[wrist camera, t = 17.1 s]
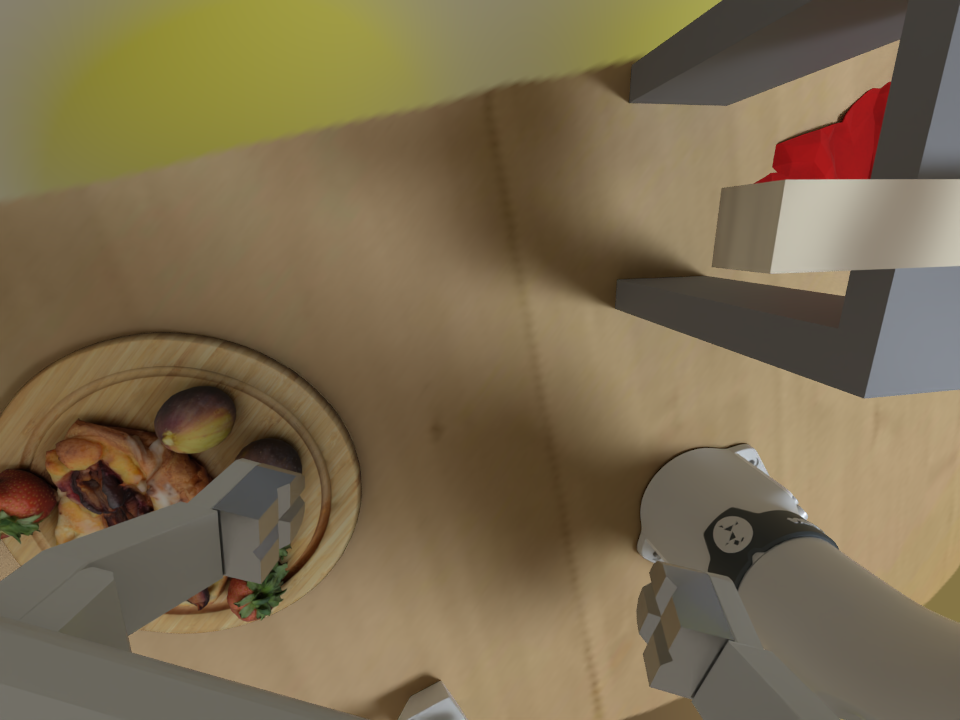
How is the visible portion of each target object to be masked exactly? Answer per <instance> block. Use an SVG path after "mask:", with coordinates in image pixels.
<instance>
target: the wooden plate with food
mask: <svg viewBox="0 0 960 720" xmlns="http://www.w3.org/2000/svg"><path fill="white" fill-rule="evenodd" d="M241 458H244V459H247V460H251V461H254V462H258V463H261V464H262V463H264V464H267V465H271V466H275V467H279V468H282V469H286V470H290V471H293V472H297V473H301V474H302V475H304V476H305V489H304V490H303V491H302V493H301V494H300V496H301V498H302V499H303V501H304V502H305V512H304V517H303V521H302V524H301V526H300V528H299V530H298V533H297V535H296V536H295V538H294V539H293V540H292V542H291V543H290V544H289V545H287V546H285V547H283V548H281V549H279V560H278V562H277V563H276V564H275V566H274V567H273V569H272V570H271V571H270V573H269V574H268V575H267V577H266V578H265V580H264V581H263V582H262V584H258V583H254V582H249V581H245V580H241V579H236V578H232V577H228V576H223V578H222V579H220V580H219V581H217V582H215V583H214V584H212V585H211V586H209V587H207V588H206V589H204V590H202V591H201V592H199V593H197V594H196V595H194V596H193V597H191V598H189V599H188V600H186V601H184V602H183V603H181V604H179V605H178V606H176V607H174V608H173V609H171V610H170V611H168V612H166V613H165V614H163V615H161V616H160V617H158V618H156V619H155V620H153V621H152V622H150V623H148V624H147V625H145V626H143V627H142V628H140V629H139V630H145V631H153V632H164V633H204V632H212V631H219V630H225V629H230V628H233V627H237V626H241V625H245V624H248V623H251V622H254V621H257V620H260V619H261V620H262V619H263V618H266V617H268V616H270V615H272V614H274V613H276V612H278V611H280V610H282V609H284V608H286V607H288V606H289V605H291V604H293V603H294V602H296V601H297V600H299V599H300V598H301V597H303V596H304V595H305V594H307V593H308V592H309V591H310V590H312V589H313V588H314V587H315V586H317V585H318V584H319V583H320V582H321V581H322V580H323V579H324V578H325V577H326V576H327V574H328V573H329V572H330V571H331V570H332V568H333V567H334V566H335V564H336V563H337V561H338V560H339V559H340V557H341V556H342V554H343V552H344V551H345V549H346V547H347V545H348V543H349V541H350V539H351V537H352V534H353V532H354V529H355V526H356V523H357V520H358V515H359V510H360V505H361V497H362V486H361V471H360V465H359V461H358V458H357V454H356V451H355V448H354V445H353V442H352V440H351V438H350V435H349V433H348V431H347V429H346V427H345V426H344V424H343V422H342V420H341V419H340V417H339V416H338V415H337V413H336V412H335V410H334V409H333V408H332V407H331V405H330V404H329V403H328V402H327V401H326V399H325V398H324V397H323V396H322V395H321V394H320V393H319V392H318V391H317V390H316V389H315V388H313V387H312V386H311V385H310V384H309V383H308V382H307V381H306V380H304V379H303V378H302V377H300V376H299V375H298V374H296V373H295V372H294V371H292V370H291V369H289V368H287V367H286V366H284V365H282V364H280V363H279V362H277V361H275V360H274V359H272V358H270V357H268V356H266V355H264V354H262V353H259V352H257V351H255V350H252V349H250V348H247V347H244V346H241V345H238V344H235V343H232V342H228V341H224V340H221V339H217V338H212V337H206V336H200V335H193V334H182V333H168V332H156V333H144V334H135V335H129V336H124V337H118V338H114V339H111V340H107V341H103V342H100V343H96V344H93V345H90V346H87V347H85V348H82V349H79V350H77V351H75V352H73V353H71V354H69V355H67V356H64V357H63V358H61V359H59V360H57V361H55V362H54V363H52V364H51V365H49V366H47V367H46V368H44V369H43V370H42V371H40V372H39V373H38V374H36V375H35V376H34V377H33V378H32V379H31V380H29V381H28V382H27V383H26V384H25V385H24V386H23V387H22V388H21V389H20V390H19V391H18V392H17V393H16V395H15V396H14V397H13V398H12V400H11V401H10V402H9V403H8V405H7V406H6V408H5V409H4V411H3V412H2V414H1V416H0V539H2V540H3V542H4V544H5V545H6V546H7V548H8V549H9V551H10V552H11V554H12V555H13V556H14V558H15V559H16V560H17V562H18V563H19V564H20V565H21V566H22V565H24V564H25V563H26V562H28V561H29V560H30V559H32V558H33V557H35V556H36V555H37V554H39V553H40V552H41V551H43V550H46V549H49V548H51V547H54V546H57V545H60V544H63V543H66V542H68V541H71V540H74V539H77V538H80V537H83V536H85V535H88V534H91V533H94V532H97V531H99V530H102V529H105V528H108V527H111V526H114V525H116V524H119V523H122V522H125V521H128V520H130V519H133V518H136V517H139V516H142V515H145V514H147V513H150V512H153V511H156V510H159V509H161V508H164V507H167V506H170V505H173V504H176V503H178V502H185V503H188V502H189V501H190V500H191V499H193V498H194V497H195V496H196V495H197V494H198V493H199V492H200V491H202V490H203V489H204V488H205V487H206V486H207V485H208V484H209V483H211V482H212V481H213V480H214V479H215V478H216V477H217V476H218V475H220V474H221V473H222V472H223V471H224V470H225V469H226V468H227V467H229V466H230V465H231V464H232V463H233V462H234V461H236V460H238V459H241Z"/></svg>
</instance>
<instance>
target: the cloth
mask: <svg viewBox="0 0 960 720" xmlns="http://www.w3.org/2000/svg"><path fill="white" fill-rule="evenodd" d="M890 85H891V82H888V83H887V84H885V85H884V86H883V87H882V88H881V89H878V88H872V89H871V90H869V91H868V92H866V93H865V94H864V95H863V96H862V97H861V98H860V99H858V100H857V101H856V102H855V103H854V104H853V105H852V106H851V108H850V109H849V110H848V112H847V113H846V115H845V116H844V118H843V120H842V122H840V123H835V124H832V125H830V126H827V127H824V128H822V129H819V130H816V131H813V132H810V133H806V134H803V135H801V136H798V137H795V138H793V139H790V140H787V141H785V142H782V143H779V144H777V145H776V149H775V154H774V160H773V166H772V167H773V168H774V169H775V170H776V171H777V172H778V173H770V174H769V175H767V176H766V177H764V178H762V179H761V180H759V181H757V182H756V183H764V182H771V181H779V180H822V179H870V178H871V174H872V169H873V165H874V160H875V155H876V151H877V146H878V141H879V137H880V132H881V127H882V123H883V118H884V113H885V109H886V104H887V99H888V95H889V90H890ZM756 183H754V184H756Z"/></svg>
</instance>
